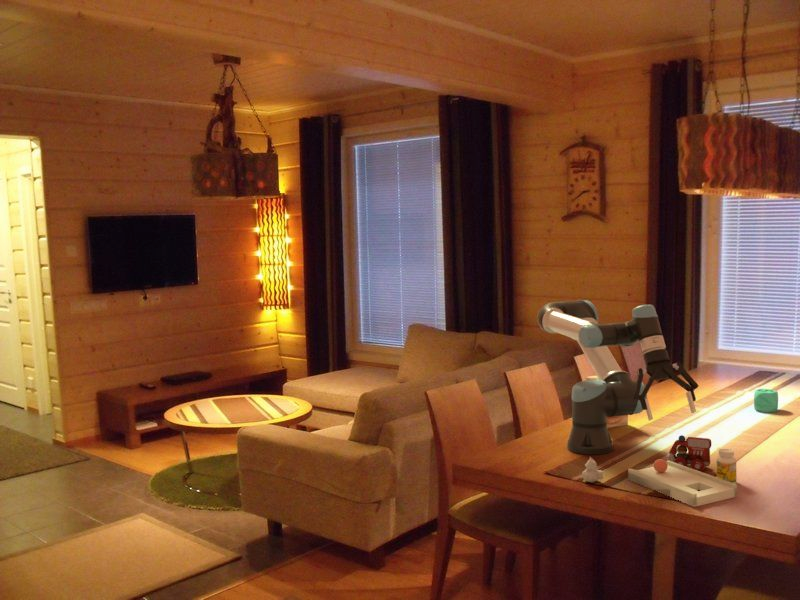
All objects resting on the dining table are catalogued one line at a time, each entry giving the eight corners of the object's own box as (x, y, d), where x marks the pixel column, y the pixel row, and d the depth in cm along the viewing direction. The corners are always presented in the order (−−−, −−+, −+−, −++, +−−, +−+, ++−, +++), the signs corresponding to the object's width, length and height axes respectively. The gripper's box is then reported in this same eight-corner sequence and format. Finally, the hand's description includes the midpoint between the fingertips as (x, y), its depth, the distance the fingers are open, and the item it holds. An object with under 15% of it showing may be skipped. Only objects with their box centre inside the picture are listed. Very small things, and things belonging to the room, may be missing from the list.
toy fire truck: (672, 462, 246) (672, 431, 245) (713, 468, 239) (713, 435, 238) (667, 468, 240) (667, 436, 239) (709, 474, 233) (709, 441, 232)
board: (628, 480, 231) (628, 468, 230) (668, 471, 237) (668, 460, 237) (694, 507, 207) (693, 494, 207) (736, 496, 214) (736, 484, 213)
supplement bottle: (740, 483, 224) (740, 451, 223) (727, 486, 222) (727, 454, 221) (725, 478, 229) (725, 447, 228) (712, 481, 227) (712, 449, 226)
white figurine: (585, 477, 234) (585, 452, 234) (606, 481, 231) (606, 455, 230) (579, 483, 230) (579, 457, 229) (601, 486, 226) (600, 460, 226)
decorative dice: (775, 413, 302) (776, 393, 302) (753, 411, 307) (754, 392, 306) (778, 409, 309) (778, 389, 308) (756, 407, 313) (756, 388, 313)
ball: (650, 471, 230) (650, 458, 230) (660, 469, 232) (660, 456, 232) (660, 475, 227) (660, 462, 226) (670, 472, 228) (670, 459, 228)
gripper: (618, 355, 244) (635, 420, 237) (696, 341, 243) (715, 407, 236) (614, 360, 251) (630, 424, 244) (689, 347, 250) (708, 411, 243)
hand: (672, 416), depth 240 cm, fingers open, 13 cm apart
